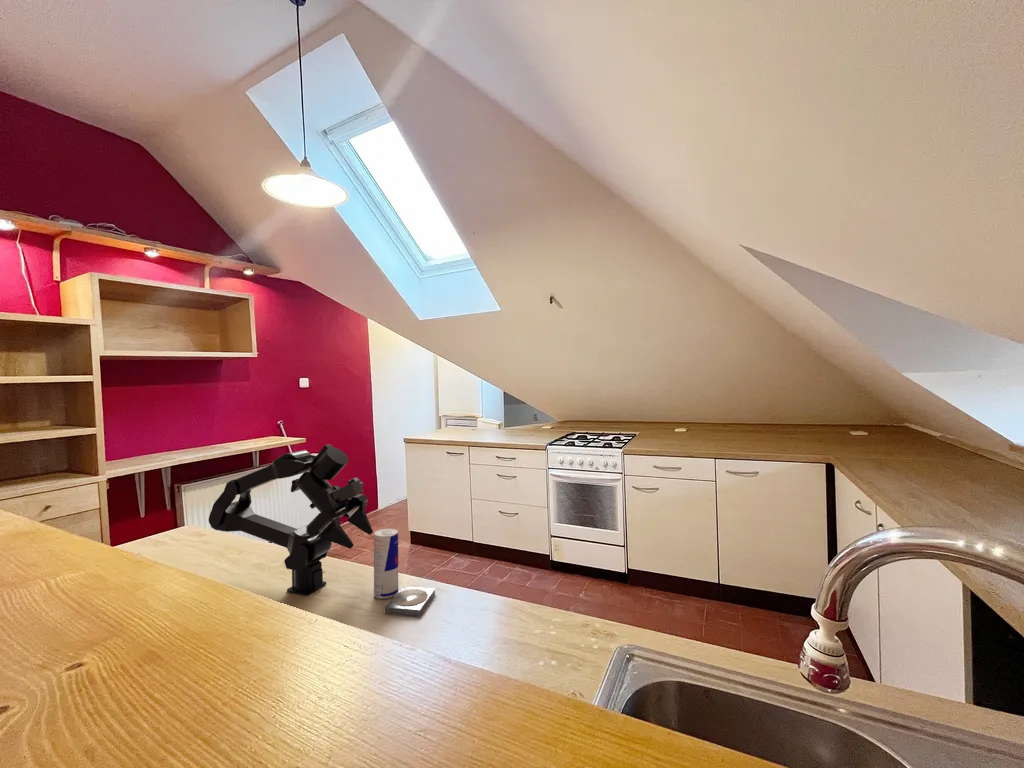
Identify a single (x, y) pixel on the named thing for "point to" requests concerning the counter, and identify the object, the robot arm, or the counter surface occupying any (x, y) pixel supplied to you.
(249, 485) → the robot arm
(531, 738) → the counter surface
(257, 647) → the counter surface
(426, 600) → the plate
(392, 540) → the beverage can
